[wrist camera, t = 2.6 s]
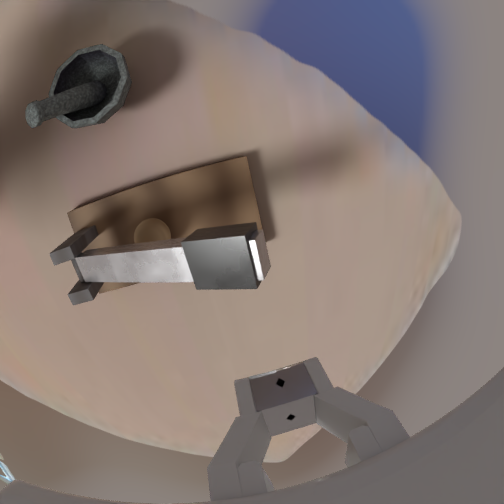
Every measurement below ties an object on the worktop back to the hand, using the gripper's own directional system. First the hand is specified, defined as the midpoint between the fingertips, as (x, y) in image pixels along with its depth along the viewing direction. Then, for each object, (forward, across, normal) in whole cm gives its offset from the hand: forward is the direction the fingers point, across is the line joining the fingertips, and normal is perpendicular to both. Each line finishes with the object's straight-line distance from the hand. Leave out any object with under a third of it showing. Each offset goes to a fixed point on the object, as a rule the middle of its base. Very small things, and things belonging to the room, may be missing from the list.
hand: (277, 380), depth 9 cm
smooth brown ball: (+26, +9, 0) cm, 28 cm away
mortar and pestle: (+29, +12, -19) cm, 36 cm away
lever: (+17, +7, 0) cm, 18 cm away
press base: (+28, +8, 0) cm, 29 cm away
